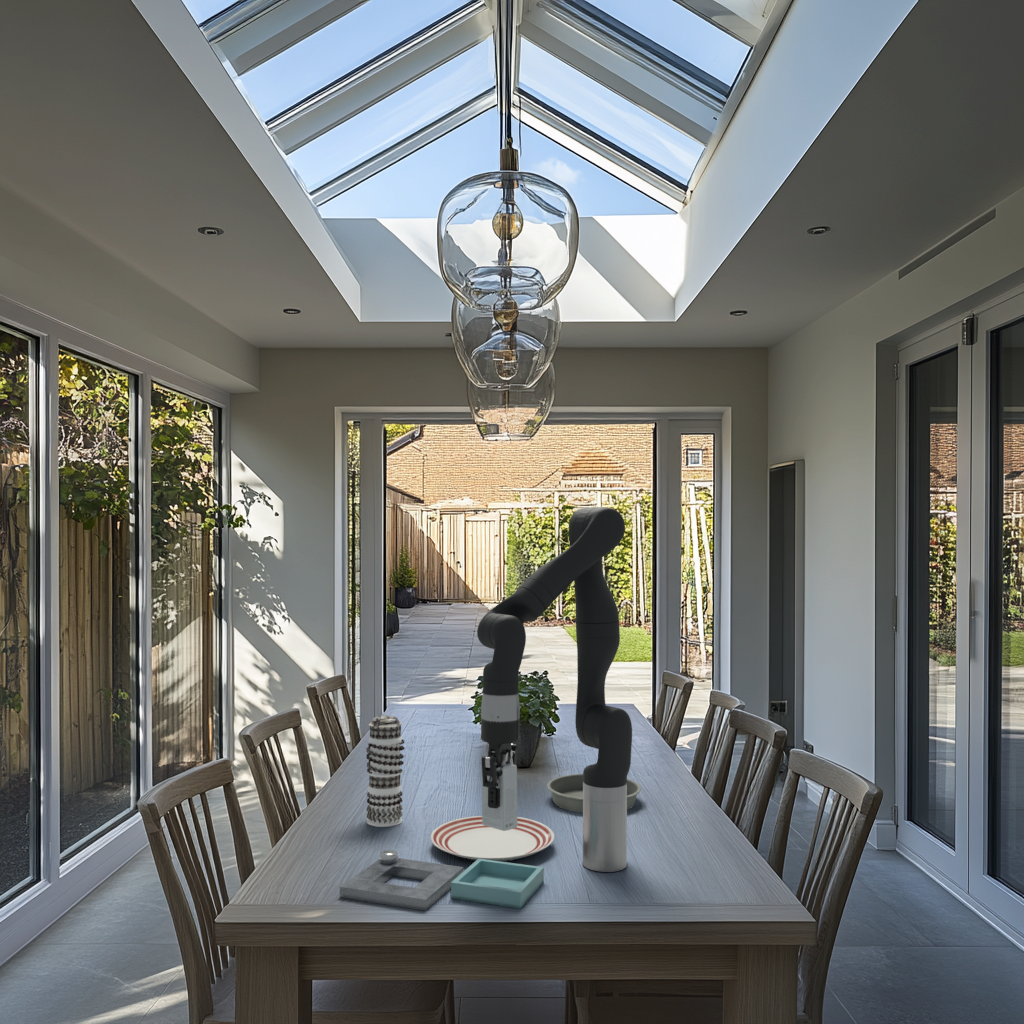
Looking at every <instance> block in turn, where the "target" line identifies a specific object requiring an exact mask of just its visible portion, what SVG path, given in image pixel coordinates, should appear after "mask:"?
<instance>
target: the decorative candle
mask: <svg viewBox="0 0 1024 1024" xmlns="http://www.w3.org/2000/svg"><path fill="white" fill-rule="evenodd" d="M402 724H403V722H400V721H399V718H398V717H396V716H393V715H378V716H375V717H373V718H372V720H371V722H369V723H368V726H369V736H368V737H369V738H368V744H367V747H366V753H367V754H366V759H367V760H368V762H366V767H367V769H366V773H367V775H369V780H368V781H369V783H368V791H367V793H366V797H368V798H367V799H366V803H367V804H368V805H367V806H366V811H367V813H366V824H368V825H369V826H372V827H378V828H386V827H387V828H388V827H395V826H398V825H399V824H401V823H402V822H403V820H402V819H403V818H402V817H403V812H402V810H403V805H402V804H401V803H402V802H403V798H402V796H403V791H402V783H401V775H402V774H403V771H404V770H403V769H402V768H401V766H402V765H404V761H402V760H403V759H404V757H405V755H404V754H402V753H401V751H403V750H405V746H404V745H403V744H405V740H404V739H402Z"/></svg>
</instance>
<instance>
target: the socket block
mask: <svg viewBox="0 0 1024 1024" xmlns="http://www.w3.org/2000/svg"><path fill="white" fill-rule="evenodd" d="M398 854H399V853H398V850H394V849H393V850H392V849H391V850H390V849H389V850H387V849H386V850H382V851H381V852H380V853H379V859H378V860H377V861H375V862H374V863H372V864H370V865H369V866H367V867H366V868H365V869H363V870H362V871H360V872H358V874H356V875H354V876H353V877H351V878H350V879H349V880H347V881H345V882H344V883H343V884H341V885H340V886H339V898H343V899H349V900H356V901H360V902H361V901H362V902H368V903H373V904H381V905H386V906H392V907H393V906H394V907H400V908H405V909H413V910H418V911H428V910H429V908H430V907H432V906H433V905H434V904H435V903H436V902H437V901H439V900H440V899H441V898H442V897H443V896H445V894H446V893H448V892H449V891H451V882H452V881H453V880H454V879H456V878H457V877H458V876H459V875H460V874H461V873H462V872H464V871H465V869H464V866H459V865H450V864H443V863H437V862H430V861H429V862H428V861H421V860H416V859H407V858H406V859H405V858H399V857H398ZM393 877H399V878H403V879H411V880H419V881H421V882H420V883H418V884H417V885H416V886H415V887H414V886H413V887H412V886H411V887H410V886H407V885H405V886H404V885H399V884H391V883H386V882H388V881H389V880H391V878H393Z"/></svg>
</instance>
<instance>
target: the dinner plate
mask: <svg viewBox="0 0 1024 1024" xmlns="http://www.w3.org/2000/svg"><path fill="white" fill-rule="evenodd" d="M430 841H431V843H432V844H433V846H435V847H436V848H437V849H439V850H441V851H442V852H445V853H448V854H451V855H453V856H456V857H460V858H463V859H466V858H467V860H470V859H471V860H470V861H475V860H477V859H486V860H493V861H501V862H508V861H507V860H510V861H515V860H519V859H522V858H526V857H529V856H532V855H535V854H537V853H539V852H542V851H543V850H545V849H546V848H548V847H549V846H551V845H552V843H554V841H555V833H554V831H553V830H552V829H551V828H550V827H549V826H547V825H546V824H544V823H541V822H540V821H537V820H534V819H530V818H527V817H521V816H517V827H516V828H514V829H510V830H507V831H502V830H499V829H495V828H492V827H488V826H485V825H482V815H475V816H466V817H461V818H457V819H453V820H450V821H447V822H445V823H443V824H440V825H438V826H437V827H436V828H435V829H434V830H433V831H432V833H431V834H430ZM518 858H519V859H518ZM514 859H515V860H514Z"/></svg>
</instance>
